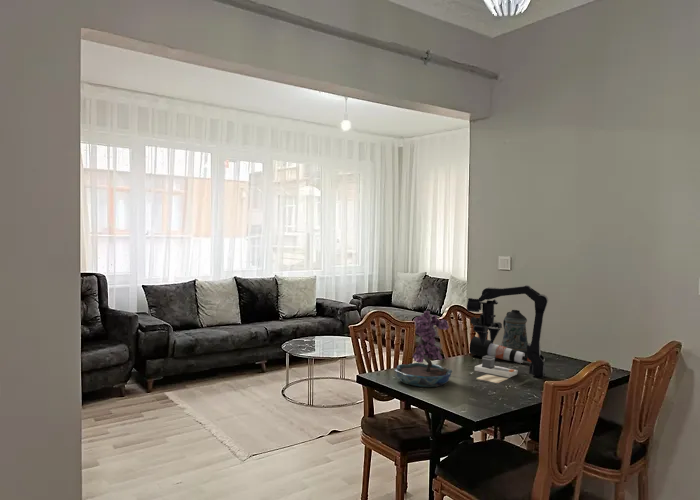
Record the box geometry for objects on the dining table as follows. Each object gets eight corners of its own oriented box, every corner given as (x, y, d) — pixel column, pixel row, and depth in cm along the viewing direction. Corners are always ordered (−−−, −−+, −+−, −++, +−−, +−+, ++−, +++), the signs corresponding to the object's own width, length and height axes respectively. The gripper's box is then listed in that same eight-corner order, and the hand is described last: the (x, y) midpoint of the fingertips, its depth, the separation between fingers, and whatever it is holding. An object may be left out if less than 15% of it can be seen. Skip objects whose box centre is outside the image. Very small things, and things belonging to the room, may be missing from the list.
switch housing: (517, 376, 258) (517, 368, 258) (509, 379, 251) (509, 371, 251) (483, 369, 270) (483, 362, 270) (474, 372, 263) (474, 365, 263)
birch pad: (508, 380, 249) (508, 378, 249) (497, 385, 241) (497, 383, 241) (486, 376, 257) (486, 374, 257) (475, 380, 248) (475, 378, 248)
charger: (494, 370, 263) (494, 356, 263) (490, 372, 260) (490, 358, 260) (486, 369, 266) (486, 355, 266) (481, 370, 263) (482, 356, 263)
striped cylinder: (529, 373, 282) (529, 359, 277) (470, 357, 301) (468, 343, 296) (535, 362, 288) (535, 347, 284) (477, 347, 308) (476, 333, 303)
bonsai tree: (433, 394, 225) (436, 317, 224) (380, 382, 241) (382, 310, 240) (469, 378, 252) (472, 309, 251) (419, 368, 269) (421, 303, 268)
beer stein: (519, 358, 298) (520, 313, 297) (489, 351, 313) (491, 309, 312) (535, 354, 308) (536, 311, 308) (506, 348, 323) (507, 307, 323)
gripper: (482, 309, 281) (482, 339, 281) (464, 312, 267) (463, 343, 267) (502, 311, 273) (501, 342, 274) (484, 315, 260) (483, 347, 260)
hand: (487, 343), depth 269 cm, fingers open, 9 cm apart
